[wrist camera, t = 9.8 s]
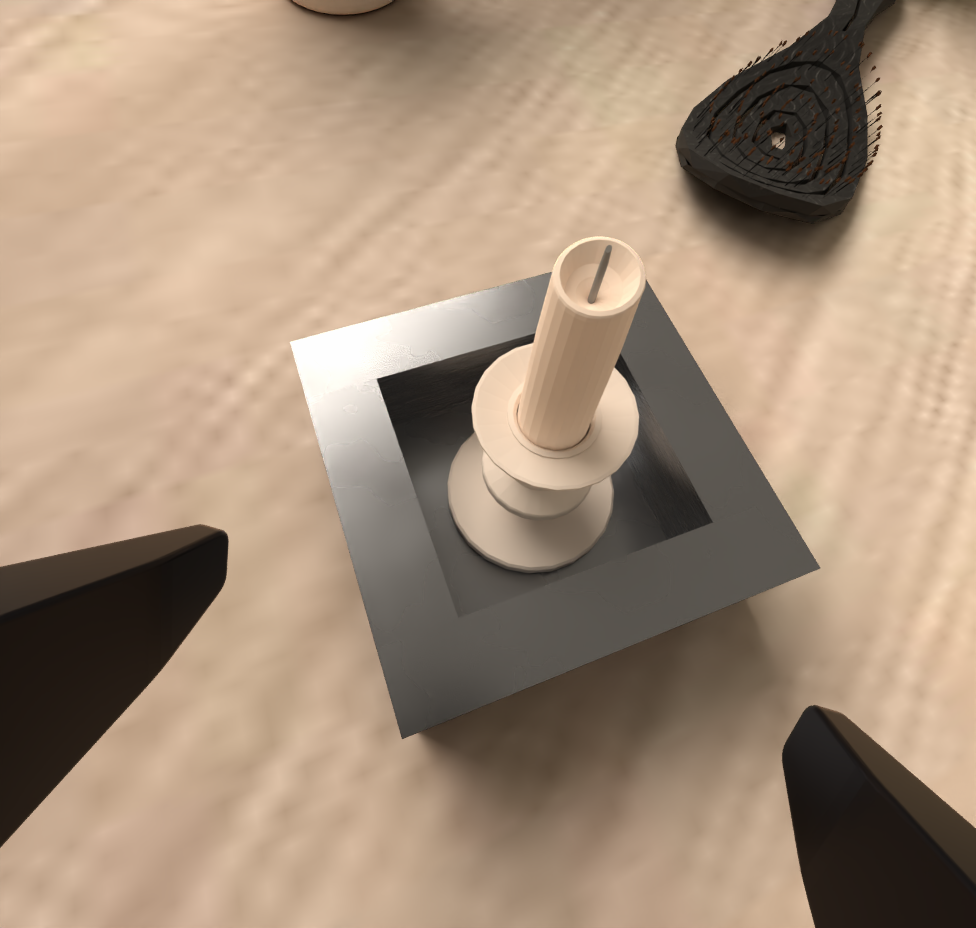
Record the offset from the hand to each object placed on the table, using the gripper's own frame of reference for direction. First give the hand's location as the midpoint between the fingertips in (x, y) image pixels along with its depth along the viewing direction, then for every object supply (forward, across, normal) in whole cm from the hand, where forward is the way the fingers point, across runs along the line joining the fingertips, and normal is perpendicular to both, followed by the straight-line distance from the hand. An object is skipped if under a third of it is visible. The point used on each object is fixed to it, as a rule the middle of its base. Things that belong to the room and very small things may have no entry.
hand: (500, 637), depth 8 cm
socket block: (+10, 0, +2) cm, 10 cm away
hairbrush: (+29, -8, -16) cm, 34 cm away
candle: (+10, 0, +2) cm, 10 cm away
